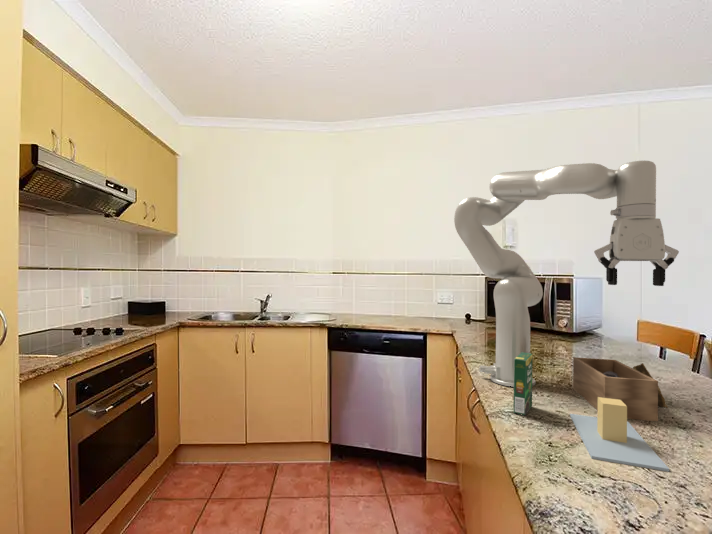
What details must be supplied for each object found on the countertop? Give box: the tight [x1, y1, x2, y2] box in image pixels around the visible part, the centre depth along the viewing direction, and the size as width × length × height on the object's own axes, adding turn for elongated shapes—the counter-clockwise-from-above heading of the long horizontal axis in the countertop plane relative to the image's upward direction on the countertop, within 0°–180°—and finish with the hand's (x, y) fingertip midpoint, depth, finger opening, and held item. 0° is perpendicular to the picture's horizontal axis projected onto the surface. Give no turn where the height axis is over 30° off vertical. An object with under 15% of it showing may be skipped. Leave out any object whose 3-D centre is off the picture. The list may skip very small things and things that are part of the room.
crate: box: [572, 356, 659, 422], centre depth 94 cm, size 11×21×9 cm, turn 167°
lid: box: [569, 397, 670, 473], centre depth 74 cm, size 11×21×8 cm, turn 159°
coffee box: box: [513, 352, 534, 416], centre depth 88 cm, size 8×3×13 cm, turn 144°
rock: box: [632, 363, 669, 409], centre depth 98 cm, size 11×9×10 cm
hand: (635, 285), depth 89 cm, fingers open, 9 cm apart
